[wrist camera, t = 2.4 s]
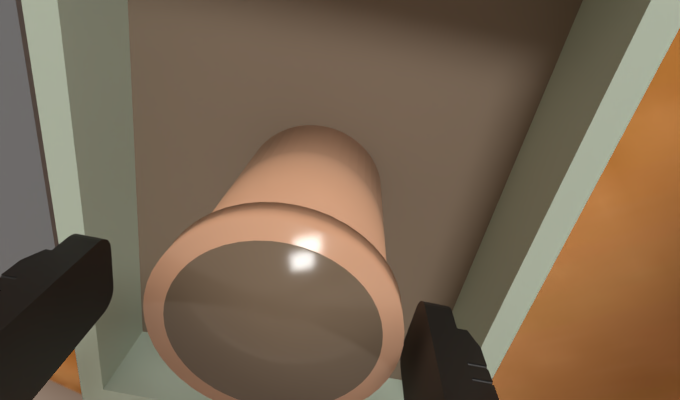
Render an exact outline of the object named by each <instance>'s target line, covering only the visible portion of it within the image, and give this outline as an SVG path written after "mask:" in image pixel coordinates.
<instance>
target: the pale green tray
mask: <svg viewBox="0 0 680 400" xmlns="http://www.w3.org/2000/svg"><path fill="white" fill-rule="evenodd" d="M21 3H22V9H23V16H24V22H25V29H26V35H27V42H28V48H29V55H30V61H31V68H32V74H33V80H34V87H35V93H36V100H37V106H38V113H39V119H40V126H41V132H42V139H43V145H44V152H45V158H46V165H47V171H48V178H49V184H50V191H51V197H52V204H53V210H54V217H55V223H56V230H57V236H58V243H59V244H60V243H61V242H62V241H64V240H65V239H66V238H67V237H69V236H70V235H72V234H81V235H86V236H92V237H97V238H102V239H107V240H108V241H109V242H110V245H111V254H112V270H113V285H114V289H113V295H112V299H111V302H110V304H109V306H108V308H107V309H106V311H105V312H104V314H103V315H102V316H101V317H100V319H99V320H98V321H97V322H96V323H95V325H94V326H93V327H92V328H91V329H90V331H89V332H88V333H87V334H86V335H85V337H84V338H83V339H82V340H81V341H80V343H79V344H78V345H77V346H76V348H75V353H76V359H77V366H78V372H79V379H80V385H81V392H82V398H83V400H212V399H210V398H208V397H206V396H204V395H203V394H201V393H199V392H198V391H196V390H195V389H193V388H192V387H190V386H189V385H188V384H187V383H185V382H184V381H183V380H182V379H180V378H179V377H178V376H177V375H176V374H175V373H174V372H173V371H172V370H171V369H170V368H169V367H168V365H167V364H166V363H165V362H164V361H163V359H162V358H161V357H160V355H159V353H158V352H157V350H156V349H155V347H154V345H153V343H152V341H151V339H150V337H149V334H148V331H147V328H146V324H145V320H144V312H143V301H144V292H145V288H146V284H147V281H148V279H149V276H150V274H151V272H152V270H153V268H154V267H155V265H156V264H157V262H158V261H159V259H160V258H161V257H162V256H163V254H164V253H165V252H166V251H167V250H168V248H169V247H170V246H171V245H172V243H173V242H174V241H175V240H176V239H177V238H178V236H179V235H180V234H181V233H182V232H183V231H184V230H185V229H186V228H188V227H189V226H190V225H192V224H193V223H194V222H196V221H197V220H199V219H201V218H203V217H204V216H206V215H208V214H210V213H212V212H213V210H214V209H215V208H216V206H217V205H218V203H219V202H220V201H221V199H222V198H223V197H224V195H225V194H226V193H227V191H228V190H229V189H230V187H231V186H232V185H233V183H234V182H235V181H236V179H237V178H238V176H239V175H240V174H241V172H242V171H243V170H244V168H245V167H246V166H247V164H248V163H249V162H250V160H251V159H252V158H253V156H254V155H255V154H256V152H257V151H258V149H259V148H260V147H261V146H262V145H263V144H264V143H265V142H266V141H267V140H268V139H270V138H271V137H272V136H274V135H276V134H277V133H279V132H281V131H283V130H286V129H288V128H292V127H296V126H304V125H317V126H325V127H329V128H332V129H335V130H338V131H340V132H343V133H345V134H346V135H348V136H350V137H352V138H353V139H354V140H355V141H357V142H358V143H359V144H360V145H361V146H362V147H363V148H364V149H365V150H366V151H367V152H368V154H369V155H370V156H371V158H372V159H373V161H374V163H375V165H376V167H377V170H378V172H379V176H380V181H381V192H382V206H383V220H384V234H385V248H386V262H387V263H388V265H389V266H390V268H391V270H392V272H393V274H394V276H395V279H396V281H397V283H398V287H399V291H400V295H401V302H402V311H403V320H404V332H405V333H404V339H405V336H406V334H407V331H408V328H409V326H410V323H411V320H412V318H413V315H414V313H415V310H416V307H417V305H418V303H419V302H420V301H425V302H430V303H435V304H440V305H445V306H449V307H450V308H451V310H452V313H453V316H454V320H455V323H456V326H457V328H458V329H464V330H467V331H468V332H469V333H470V334H471V336H472V337H473V338H474V340H475V341H476V342H477V343H478V345H479V346H480V347H481V350H482V353H483V356H484V358H485V361H486V364H487V369H488V370H489V373H490V376H491V378H493V376H494V375H495V373H496V371H497V369H498V367H499V365H500V363H501V361H502V360H503V358H504V356H505V354H506V352H507V350H508V348H509V346H510V345H511V343H512V341H513V339H514V337H515V335H516V333H517V332H518V330H519V328H520V326H521V324H522V322H523V320H524V318H525V317H526V315H527V313H528V311H529V309H530V307H531V305H532V303H533V302H534V300H535V298H536V296H537V294H538V292H539V290H540V288H541V287H542V285H543V283H544V281H545V279H546V277H547V275H548V273H549V272H550V270H551V268H552V266H553V264H554V262H555V260H556V258H557V257H558V255H559V253H560V251H561V249H562V247H563V245H564V243H565V242H566V240H567V238H568V236H569V234H570V232H571V230H572V228H573V227H574V225H575V223H576V221H577V219H578V217H579V215H580V213H581V212H582V210H583V208H584V206H585V204H586V202H587V200H588V199H589V197H590V195H591V193H592V191H593V189H594V187H595V185H596V184H597V182H598V180H599V178H600V176H601V174H602V172H603V170H604V169H605V167H606V165H607V163H608V161H609V159H610V157H611V155H612V154H613V152H614V150H615V148H616V146H617V144H618V142H619V140H620V139H621V137H622V135H623V133H624V131H625V129H626V127H627V125H628V124H629V122H630V120H631V118H632V116H633V114H634V112H635V110H636V109H637V107H638V105H639V103H640V101H641V99H642V97H643V95H644V94H645V92H646V90H647V88H648V86H649V84H650V82H651V80H652V79H653V77H654V75H655V73H656V71H657V69H658V67H659V66H660V64H661V62H662V60H663V58H664V56H665V54H666V52H667V51H668V49H669V47H670V45H671V43H672V41H673V39H674V37H675V36H676V34H677V32H678V30H679V28H680V0H21ZM400 358H401V356H400ZM364 400H404V395H403V386H402V377H401V368H400V359H399V361H398V363H397V365H396V368H395V369H394V371H393V372H392V374H391V375H390V377H389V378H388V380H387V381H386V382H385V383H384V384H383V385H382V386H381V387H380V388H379V389H378V390H377V391H375V392H374V393H373V394H372V395H370V396H369V397H368V398H366V399H364Z"/></svg>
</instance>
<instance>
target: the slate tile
mask: <svg viewBox="0 0 680 400" xmlns="http://www.w3.org/2000/svg"><path fill="white" fill-rule="evenodd" d="M57 245H59V243H58V236H57V230H56V223H55V217H54V210H53V204H52V197H51V191H50V184H49V178H48V171H47V165H46V158H45V152H44V145H43V139H42V132H41V126H40V119H39V113H38V106H37V100H36V93H35V87H34V80H33V74H32V68H31V61H30V55H29V48H28V42H27V35H26V29H25V22H24V16H23V9H22V3H21V0H0V277H1V274H2V273H4V272H5V271H6V270H8V269H9V268H10V267H12V266H13V265H14V264H16V263H17V262H18V261H20V260H21V259H24V258H26V257H28V256H31V255H33V254H35V253H38V252H40V251H42V250H45V249H47V250H52V249H54V248H55V247H56V246H57Z"/></svg>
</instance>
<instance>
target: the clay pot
mask: <svg viewBox="0 0 680 400" xmlns="http://www.w3.org/2000/svg"><path fill="white" fill-rule="evenodd" d="M143 312H144V320H145V324H146V328H147V331H148V334H149V337H150V339H151V341H152V343H153V345H154V347H155V349H156V350H157V352H158V353H159V355H160V357H161V358H162V359H163V361H164V362H165V363H166V364H167V365H168V367H169V368H170V369H171V370H172V371H173V372H174V373H175V374H176V375H177V376H178V377H179V378H180V379H182V380H183V381H184V382H185V383H187V384H188V385H189V386H190V387H192V388H193V389H195V390H196V391H198V392H199V393H201V394H203V395H204V396H206V397H208V398H210V399H212V400H364V399H366V398H368V397H369V396H370V395H372V394H373V393H374V392H375V391H377V390H378V389H379V388H380V387H381V386H382V385H383V384H384V383H385V382H386V381H387V380H388V378H389V377H390V375H391V374H392V372H393V371H394V369H395V368H396V365H397V363H398V361H399V359H400V356H401V353H402V349H403V345H404V333H405V332H404V320H403V311H402V302H401V295H400V291H399V287H398V283H397V281H396V279H395V276H394V274H393V272H392V270H391V268H390V266H389V265H388V263H387V262H386V248H385V234H384V220H383V206H382V192H381V181H380V176H379V172H378V170H377V167H376V165H375V163H374V161H373V159H372V158H371V156H370V155H369V154H368V152H367V151H366V150H365V149H364V148H363V147H362V146H361V145H360V144H359V143H358V142H357V141H355V140H354V139H353V138H352V137H350V136H348V135H346V134H345V133H343V132H340V131H338V130H335V129H332V128H329V127H325V126H317V125H304V126H296V127H292V128H288V129H286V130H283V131H281V132H279V133H277V134H276V135H274V136H272V137H271V138H270V139H268V140H267V141H266V142H265V143H264V144H263V145H262V146H261V147H260V148H259V149H258V151H257V152H256V154H255V155H254V156H253V158H252V159H251V160H250V162H249V163H248V164H247V166H246V167H245V168H244V170H243V171H242V172H241V174H240V175H239V176H238V178H237V179H236V181H235V182H234V183H233V185H232V186H231V187H230V189H229V190H228V191H227V193H226V194H225V195H224V197H223V198H222V199H221V201H220V202H219V203H218V205H217V206H216V208H215V209H214V210H213V212H212V213H210V214H208V215H206V216H204V217H203V218H201V219H199V220H197V221H196V222H194V223H193V224H192V225H190V226H189V227H188V228H186V229H185V230H184V231H183V232H182V233H181V234H180V235H179V236H178V238H177V239H176V240H175V241H174V242H173V243H172V245H171V246H170V247H169V248H168V250H167V251H166V252H165V253H164V254H163V256H162V257H161V258H160V259H159V261H158V262H157V264H156V265H155V267H154V268H153V270H152V272H151V274H150V276H149V279H148V281H147V284H146V288H145V292H144V301H143Z"/></svg>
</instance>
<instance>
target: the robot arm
mask: <svg viewBox="0 0 680 400" xmlns="http://www.w3.org/2000/svg"><path fill="white" fill-rule="evenodd" d="M113 289H114V285H113V270H112V254H111V245H110V242H109V241H108V240H107V239H102V238H97V237H92V236H86V235H81V234H72V235H70V236H69V237H67V238H66V239H65V240H64V241H62V242H61V243H60V244H59V245H57V246H56V247H55V248H54V249H52V250H47V249H45V250H42V251H40V252H38V253H35V254H33V255H31V256H28V257H26V258H24V259H21V260H20V261H18V262H17V263H16V264H14V265H13V266H12V267H10V268H9V269H8V270H6V271H5V272H4V273H2V274H1V277H0V400H32V399H33V398H34V397H35V396H36V395H37V393H38V392H39V391H40V390H41V388H42V387H43V386H44V385H45V384H46V383H47V381H48V380H49V379H50V378H51V377H52V375H53V374H54V373H55V372H56V370H57V369H58V368H59V367H60V366H61V364H62V363H63V362H64V361H65V360H66V358H67V357H68V356H69V355H70V354H71V352H72V351H73V350H74V349H75V348H76V346H77V345H78V344H79V343H80V341H81V340H82V339H83V338H84V337H85V335H86V334H87V333H88V332H89V331H90V329H91V328H92V327H93V326H94V325H95V323H96V322H97V321H98V320H99V319H100V317H101V316H102V315H103V314H104V312H105V311H106V309H107V308H108V306H109V304H110V302H111V299H112V295H113ZM400 368H401V377H402V386H403V395H404V400H499V398H498V395H497V393H496V390H495V387H494V385H492V382H493V381H492V378H491V376H490V373H489V370H488V369H487V364H486V361H485V358H484V356H483V353H482V350H481V347H480V346H479V345H478V343H477V342H476V341H475V340H474V338H473V337H472V336H471V334H470V333H469V332H468V331H467V330H464V329H458V328H457V326H456V323H455V320H454V316H453V313H452V310H451V308H450V307H449V306H445V305H440V304H435V303H430V302H425V301H420V302H419V303H418V305H417V307H416V310H415V313H414V315H413V318H412V320H411V323H410V326H409V328H408V331H407V334H406V336H405V339H404V345H403V349H402V353H401V358H400Z"/></svg>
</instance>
